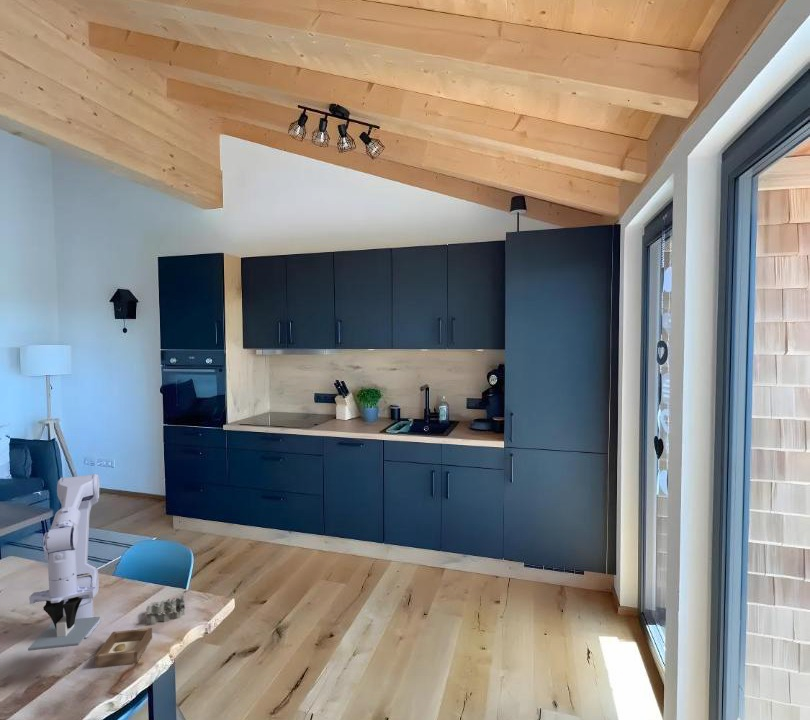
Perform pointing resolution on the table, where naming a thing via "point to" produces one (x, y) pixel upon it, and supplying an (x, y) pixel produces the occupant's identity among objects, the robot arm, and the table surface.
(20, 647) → the table surface
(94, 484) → the robot arm
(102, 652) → the box
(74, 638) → the lid
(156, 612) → the egg carton
